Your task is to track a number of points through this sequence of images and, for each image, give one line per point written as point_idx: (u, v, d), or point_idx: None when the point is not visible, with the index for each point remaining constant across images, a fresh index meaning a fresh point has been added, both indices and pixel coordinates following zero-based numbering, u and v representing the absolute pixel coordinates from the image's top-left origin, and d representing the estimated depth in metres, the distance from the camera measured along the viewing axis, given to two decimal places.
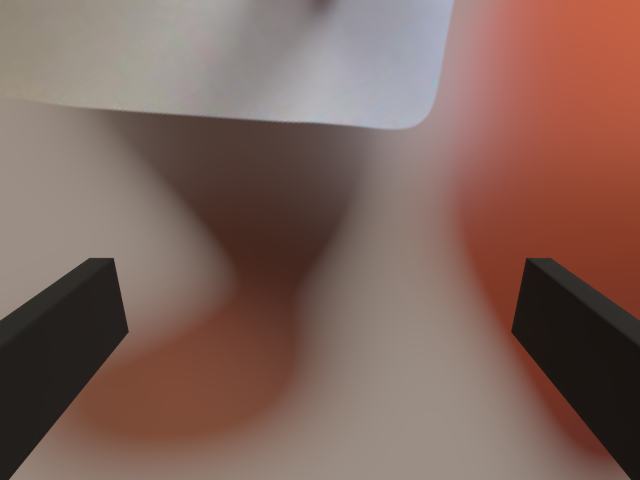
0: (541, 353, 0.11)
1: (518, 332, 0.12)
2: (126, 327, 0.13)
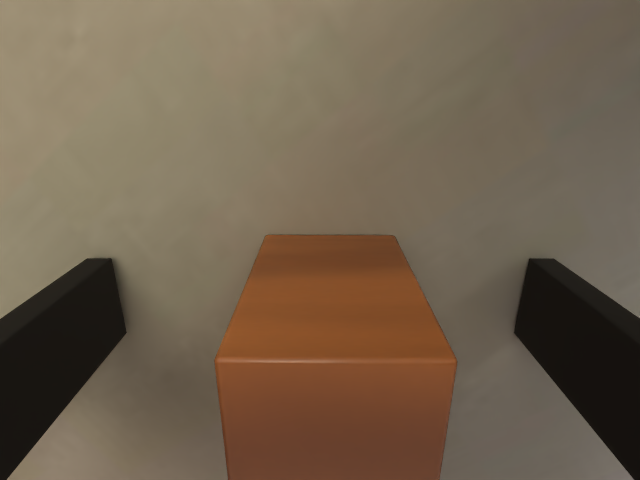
0: (544, 354, 0.11)
1: (521, 333, 0.12)
2: (124, 328, 0.13)
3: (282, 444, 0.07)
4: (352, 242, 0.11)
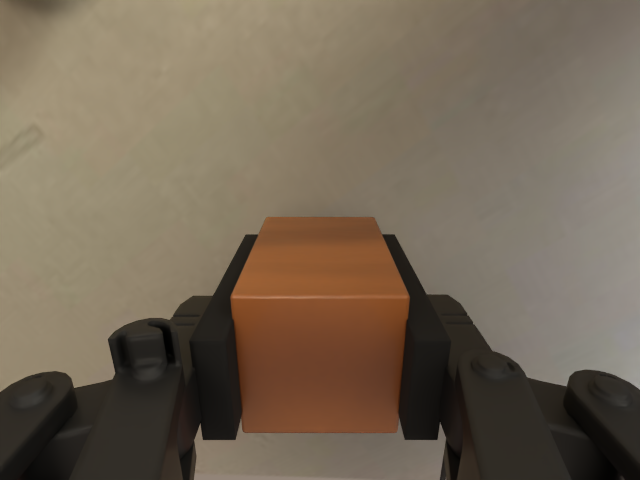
0: None
1: None
2: None
3: (281, 364, 0.09)
4: (338, 222, 0.13)
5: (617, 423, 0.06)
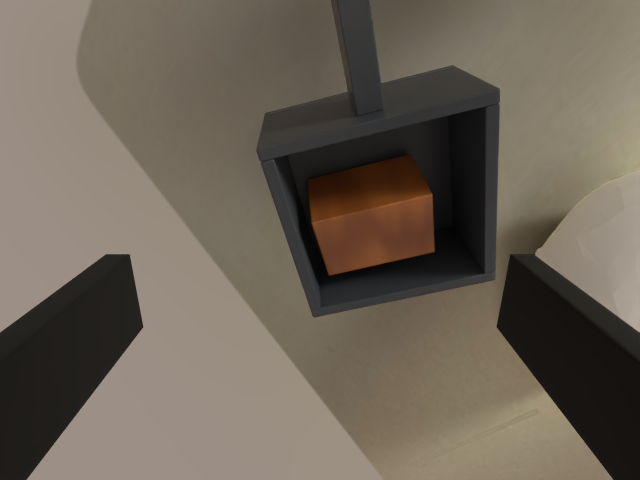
0: (524, 347, 0.11)
1: (503, 327, 0.13)
2: (141, 322, 0.13)
3: None
4: (320, 189, 0.21)
5: None
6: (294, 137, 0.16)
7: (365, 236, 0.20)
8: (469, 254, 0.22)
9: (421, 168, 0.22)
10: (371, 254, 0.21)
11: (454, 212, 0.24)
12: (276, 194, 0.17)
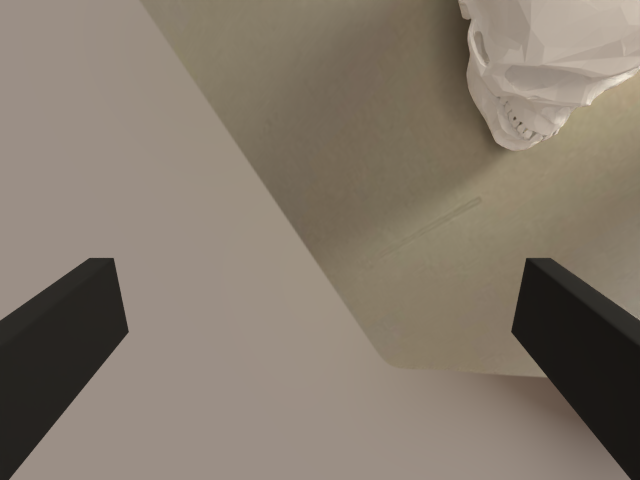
0: (541, 353, 0.11)
1: (518, 332, 0.12)
2: (126, 327, 0.13)
3: None
4: None
5: None
6: None
7: None
8: None
9: None
10: None
11: None
12: None
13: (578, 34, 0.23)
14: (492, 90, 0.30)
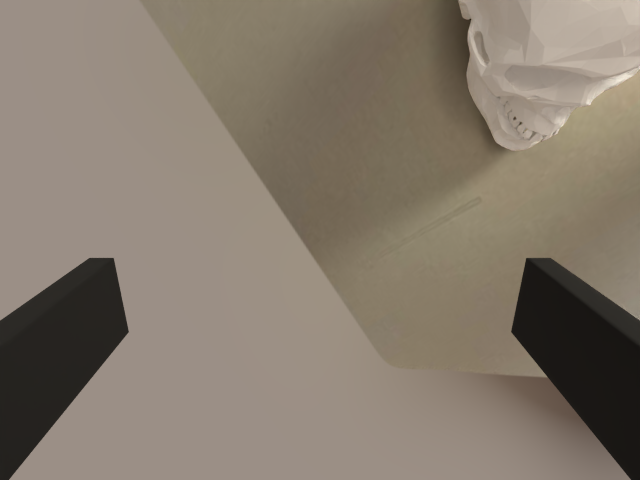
0: (541, 353, 0.11)
1: (518, 332, 0.12)
2: (126, 327, 0.13)
3: None
4: None
5: None
6: None
7: None
8: None
9: None
10: None
11: None
12: None
13: (578, 34, 0.23)
14: (492, 90, 0.30)
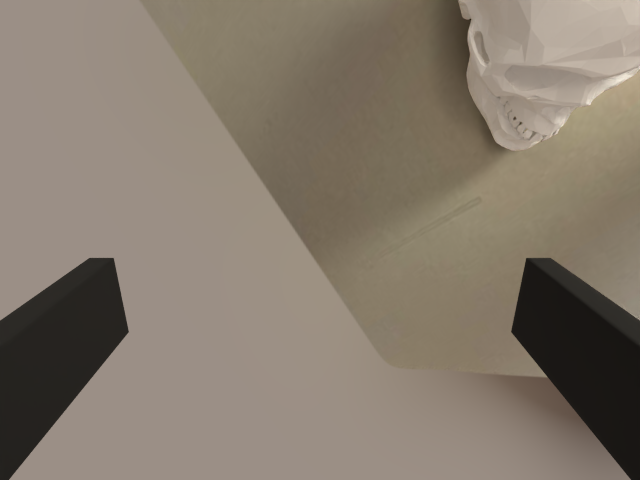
0: (541, 353, 0.11)
1: (518, 332, 0.12)
2: (126, 327, 0.13)
3: None
4: None
5: None
6: None
7: None
8: None
9: None
10: None
11: None
12: None
13: (578, 34, 0.23)
14: (492, 90, 0.30)
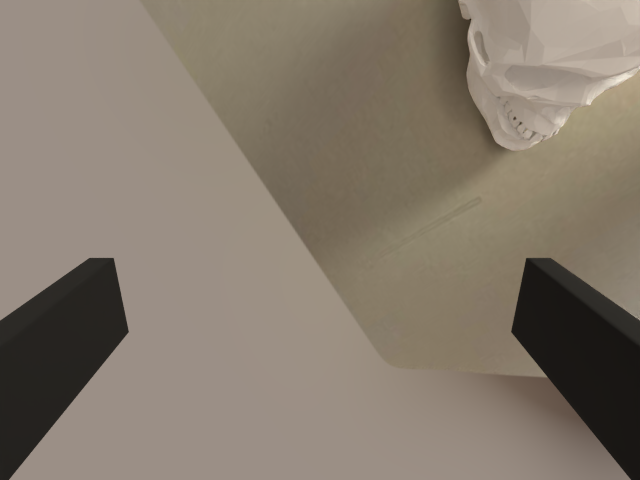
0: (541, 353, 0.11)
1: (518, 332, 0.12)
2: (126, 327, 0.13)
3: None
4: None
5: None
6: None
7: None
8: None
9: None
10: None
11: None
12: None
13: (578, 34, 0.23)
14: (492, 90, 0.30)
